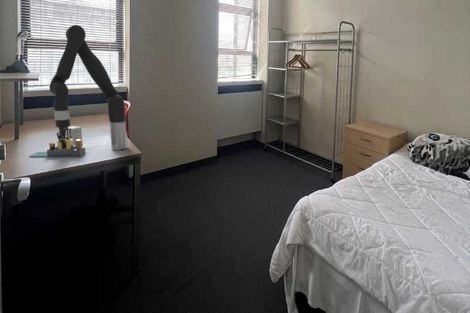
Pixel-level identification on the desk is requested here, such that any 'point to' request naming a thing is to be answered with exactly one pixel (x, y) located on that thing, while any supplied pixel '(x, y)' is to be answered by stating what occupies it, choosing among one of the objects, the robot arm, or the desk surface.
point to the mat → (39, 154)
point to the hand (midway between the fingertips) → (66, 147)
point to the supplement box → (76, 134)
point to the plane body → (66, 150)
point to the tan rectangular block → (68, 144)
